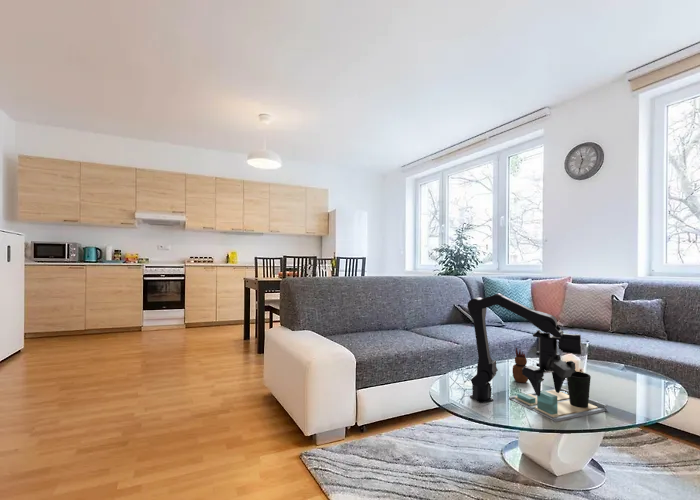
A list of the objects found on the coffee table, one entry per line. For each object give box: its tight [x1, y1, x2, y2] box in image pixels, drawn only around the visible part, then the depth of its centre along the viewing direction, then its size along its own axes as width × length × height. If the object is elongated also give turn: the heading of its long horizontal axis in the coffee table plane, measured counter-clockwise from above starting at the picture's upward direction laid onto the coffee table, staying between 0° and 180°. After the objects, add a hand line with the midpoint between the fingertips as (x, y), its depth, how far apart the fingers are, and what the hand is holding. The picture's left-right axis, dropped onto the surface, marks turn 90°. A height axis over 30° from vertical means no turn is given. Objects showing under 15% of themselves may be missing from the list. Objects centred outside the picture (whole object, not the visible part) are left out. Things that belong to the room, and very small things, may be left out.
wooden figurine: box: [512, 347, 529, 384], centre depth 165 cm, size 7×6×15 cm
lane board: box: [508, 387, 608, 422], centre depth 140 cm, size 25×21×2 cm
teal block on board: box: [535, 390, 598, 418], centre depth 135 cm, size 22×8×7 cm, turn 110°
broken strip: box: [515, 389, 569, 406], centre depth 144 cm, size 22×8×2 cm, turn 110°
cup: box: [566, 370, 592, 408], centre depth 137 cm, size 8×8×12 cm
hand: (548, 394), depth 132 cm, fingers open, 9 cm apart
